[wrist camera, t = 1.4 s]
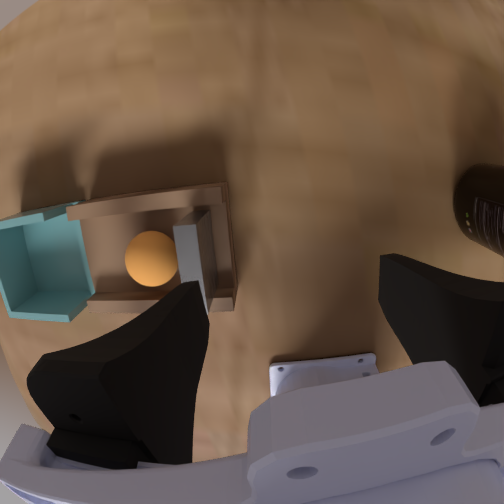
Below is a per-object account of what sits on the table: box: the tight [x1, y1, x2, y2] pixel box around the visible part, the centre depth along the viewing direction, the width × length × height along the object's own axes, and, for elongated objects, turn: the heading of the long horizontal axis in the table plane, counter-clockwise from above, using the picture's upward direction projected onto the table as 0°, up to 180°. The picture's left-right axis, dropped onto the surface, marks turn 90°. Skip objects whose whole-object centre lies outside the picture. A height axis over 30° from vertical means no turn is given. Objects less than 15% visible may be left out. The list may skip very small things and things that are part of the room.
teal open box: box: [0, 200, 95, 322], centre depth 20 cm, size 8×8×5 cm
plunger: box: [173, 210, 218, 314], centre depth 18 cm, size 1×5×4 cm, turn 4°
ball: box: [125, 231, 178, 287], centre depth 19 cm, size 4×4×4 cm
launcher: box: [66, 182, 237, 313], centre depth 21 cm, size 11×8×4 cm
